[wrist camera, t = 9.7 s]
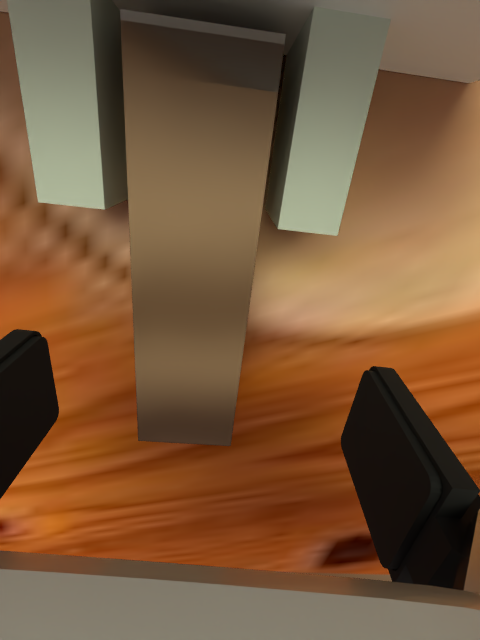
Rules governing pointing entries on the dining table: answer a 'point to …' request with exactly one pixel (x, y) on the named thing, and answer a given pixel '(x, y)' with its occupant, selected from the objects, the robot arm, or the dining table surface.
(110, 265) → the dining table surface
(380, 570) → the dining table surface
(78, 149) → the pale grey legged piece
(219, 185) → the rail
